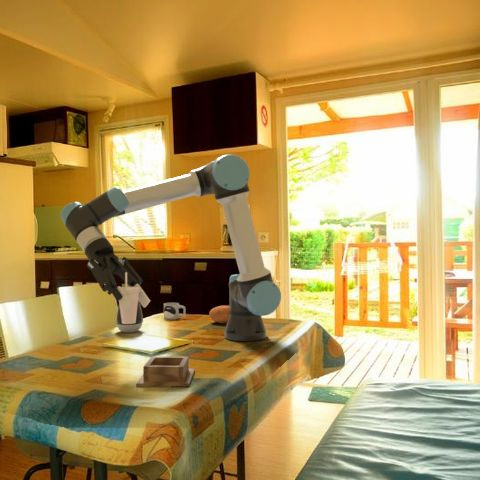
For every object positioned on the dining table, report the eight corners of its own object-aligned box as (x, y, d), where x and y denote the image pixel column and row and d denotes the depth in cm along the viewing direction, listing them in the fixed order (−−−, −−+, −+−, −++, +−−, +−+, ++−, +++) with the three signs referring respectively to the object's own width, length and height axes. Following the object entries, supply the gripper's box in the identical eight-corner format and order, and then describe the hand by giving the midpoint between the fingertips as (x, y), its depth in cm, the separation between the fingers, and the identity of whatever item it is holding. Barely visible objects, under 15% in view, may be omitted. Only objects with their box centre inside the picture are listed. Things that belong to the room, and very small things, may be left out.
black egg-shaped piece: (119, 335, 176) (119, 294, 176) (113, 330, 185) (113, 291, 185) (146, 332, 181) (146, 293, 180) (139, 328, 190) (138, 290, 190)
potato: (231, 325, 194) (231, 307, 194) (206, 324, 197) (206, 306, 197) (238, 321, 203) (238, 304, 203) (213, 320, 206) (213, 303, 206)
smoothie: (119, 320, 133) (118, 271, 133) (142, 320, 134) (141, 271, 134) (115, 325, 127) (114, 273, 127) (139, 324, 128) (138, 273, 127)
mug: (161, 319, 209) (161, 304, 209) (166, 317, 216) (166, 302, 216) (183, 320, 207) (183, 305, 207) (187, 317, 214) (187, 302, 214)
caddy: (194, 371, 129) (194, 355, 129) (188, 386, 116) (188, 368, 116) (147, 371, 129) (147, 355, 129) (136, 386, 116) (135, 368, 116)
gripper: (114, 253, 146) (154, 309, 138) (62, 256, 130) (104, 320, 122) (126, 236, 144) (168, 292, 135) (74, 237, 127) (119, 301, 119)
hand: (138, 305), depth 129 cm, fingers closed on smoothie, 6 cm apart
